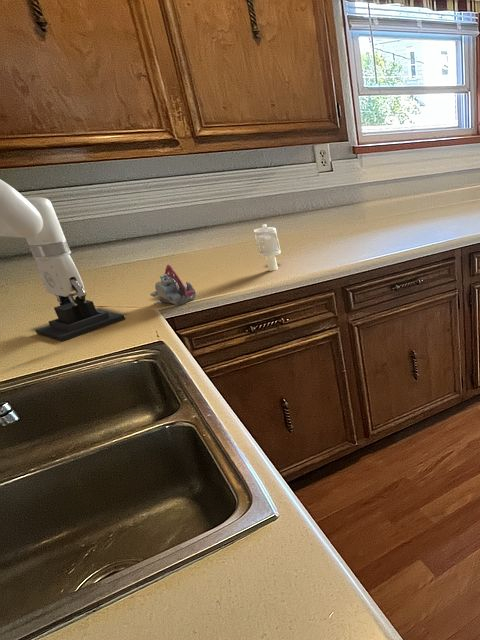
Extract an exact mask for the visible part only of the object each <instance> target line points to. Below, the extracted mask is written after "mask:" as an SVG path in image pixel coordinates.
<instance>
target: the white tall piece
mask: <svg viewBox="0 0 480 640" xmlns="http://www.w3.org/2000/svg"><path fill="white" fill-rule="evenodd" d="M267 226H268V225H267V224H266V223H264V224H262V225H261V227H259V228H255V229H253V234H254V239H255V243H256V247H257V252H258V256H259V257H262V258H265V259H266V264H267V268H268V271H270V272H274V271H278V270H279V267H278V262H277V258H276V256H278V255H280V254H281V253H282V252H281V247H280V242H279V237H278V233H277V228H276V227H272V226H268V227H267Z"/></svg>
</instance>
